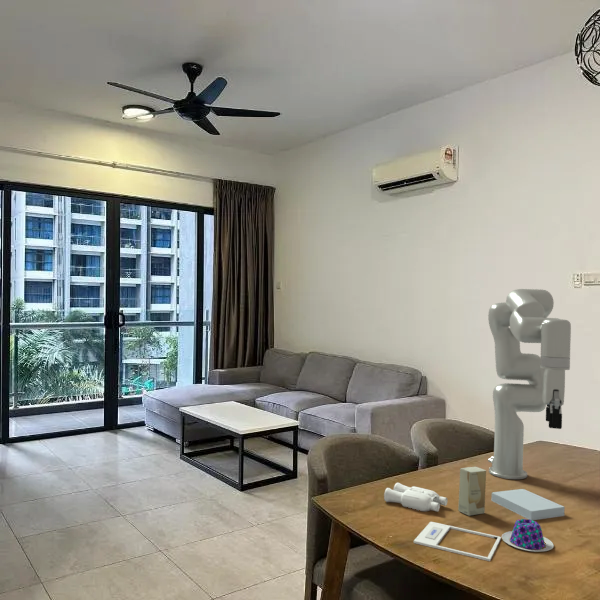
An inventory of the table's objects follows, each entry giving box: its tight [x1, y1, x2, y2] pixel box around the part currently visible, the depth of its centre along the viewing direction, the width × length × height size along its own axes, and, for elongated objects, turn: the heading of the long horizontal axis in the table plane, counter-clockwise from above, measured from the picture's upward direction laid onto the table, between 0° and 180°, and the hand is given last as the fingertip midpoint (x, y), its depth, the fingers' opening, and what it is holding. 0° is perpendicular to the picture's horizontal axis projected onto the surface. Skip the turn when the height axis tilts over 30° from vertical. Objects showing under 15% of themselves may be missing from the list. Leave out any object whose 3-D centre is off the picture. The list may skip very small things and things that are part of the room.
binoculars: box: [383, 482, 448, 512], centre depth 165 cm, size 10×16×5 cm, turn 54°
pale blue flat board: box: [490, 488, 566, 521], centre depth 165 cm, size 16×12×3 cm
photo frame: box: [413, 521, 502, 562], centre depth 140 cm, size 15×1×18 cm
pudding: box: [501, 518, 555, 552], centre depth 140 cm, size 12×12×5 cm
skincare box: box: [457, 466, 487, 517], centre depth 160 cm, size 6×4×12 cm
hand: (553, 424), depth 157 cm, fingers open, 9 cm apart
